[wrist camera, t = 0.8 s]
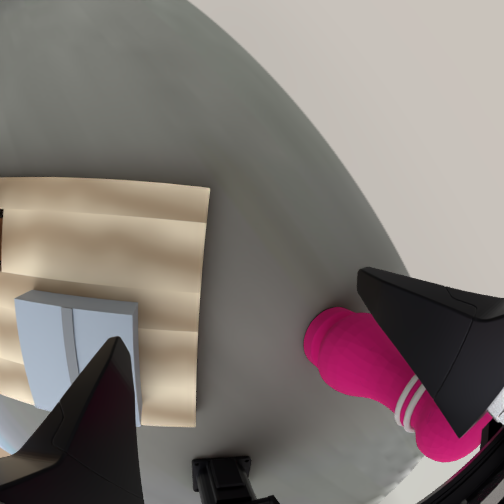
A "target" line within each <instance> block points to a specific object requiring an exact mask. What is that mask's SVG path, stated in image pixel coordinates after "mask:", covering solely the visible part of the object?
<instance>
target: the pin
mask: <svg viewBox="0 0 504 504" xmlns="http://www.w3.org/2000/svg"><path fill="white" fill-rule="evenodd" d="M2 225H3V218H0V260H1V247H2Z"/></svg>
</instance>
